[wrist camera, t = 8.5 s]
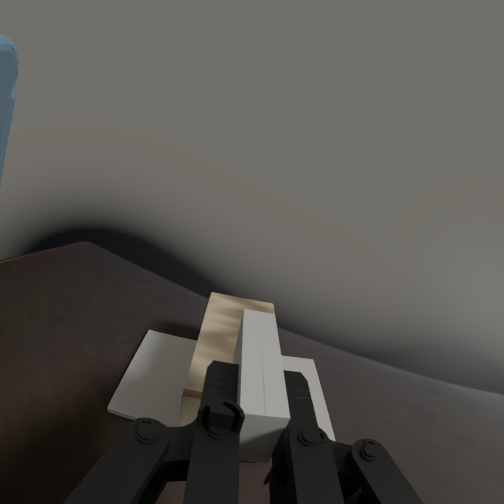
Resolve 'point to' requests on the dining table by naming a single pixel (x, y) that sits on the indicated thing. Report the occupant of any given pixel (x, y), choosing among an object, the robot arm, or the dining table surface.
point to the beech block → (215, 345)
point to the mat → (184, 381)
